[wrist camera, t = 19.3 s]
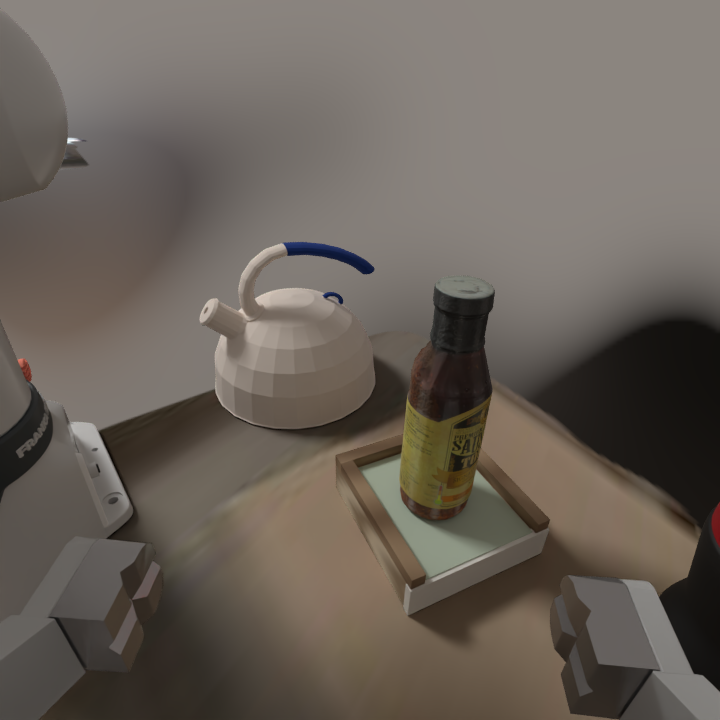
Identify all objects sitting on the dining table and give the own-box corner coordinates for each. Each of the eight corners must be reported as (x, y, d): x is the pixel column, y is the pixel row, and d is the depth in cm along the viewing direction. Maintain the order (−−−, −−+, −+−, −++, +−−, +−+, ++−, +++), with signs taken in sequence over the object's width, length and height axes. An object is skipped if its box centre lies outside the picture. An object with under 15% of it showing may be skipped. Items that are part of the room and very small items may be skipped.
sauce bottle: (451, 537, 40) (491, 320, 29) (384, 503, 43) (398, 294, 32) (481, 485, 45) (524, 282, 34) (418, 458, 48) (440, 262, 37)
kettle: (202, 354, 69) (178, 224, 59) (344, 328, 75) (344, 208, 65) (227, 451, 53) (200, 296, 43) (403, 407, 60) (415, 265, 50)
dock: (335, 487, 49) (334, 455, 46) (448, 448, 54) (453, 418, 51) (407, 615, 38) (411, 583, 36) (541, 553, 43) (552, 520, 41)
